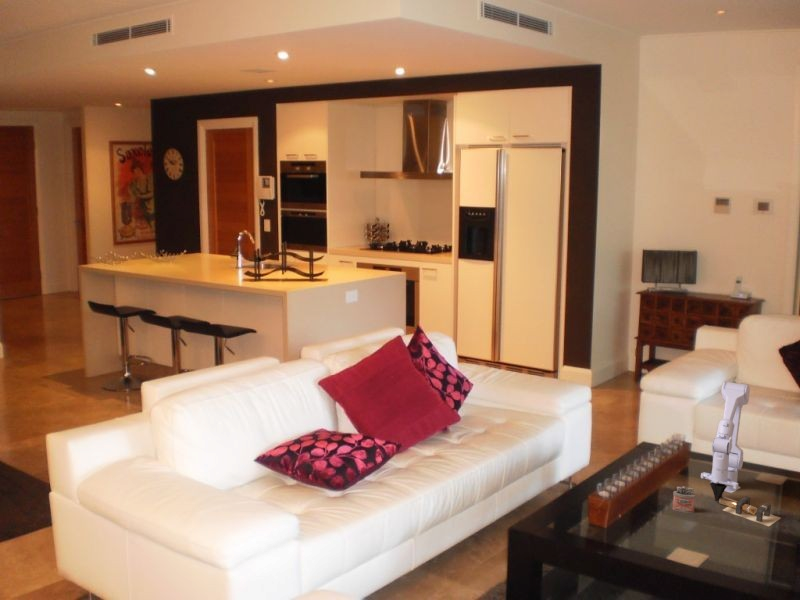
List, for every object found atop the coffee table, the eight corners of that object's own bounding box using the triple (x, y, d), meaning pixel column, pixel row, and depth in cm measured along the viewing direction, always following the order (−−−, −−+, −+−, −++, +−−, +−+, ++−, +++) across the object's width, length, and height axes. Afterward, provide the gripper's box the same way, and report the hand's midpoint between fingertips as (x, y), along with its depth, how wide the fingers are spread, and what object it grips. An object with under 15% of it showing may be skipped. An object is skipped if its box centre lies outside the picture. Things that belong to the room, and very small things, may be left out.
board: (722, 511, 321) (723, 498, 320) (734, 503, 327) (735, 491, 326) (768, 527, 307) (769, 514, 306) (781, 519, 314) (782, 506, 313)
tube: (718, 504, 325) (719, 497, 325) (722, 502, 327) (722, 494, 327) (753, 516, 315) (754, 509, 314) (757, 514, 317) (758, 506, 316)
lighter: (671, 511, 321) (673, 487, 319) (672, 508, 324) (674, 483, 322) (694, 515, 318) (695, 490, 316) (694, 511, 321) (696, 487, 319)
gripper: (697, 464, 327) (695, 497, 330) (733, 476, 316) (730, 509, 319) (706, 460, 331) (704, 492, 334) (742, 471, 321) (739, 504, 324)
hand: (717, 500), depth 327 cm, fingers closed
